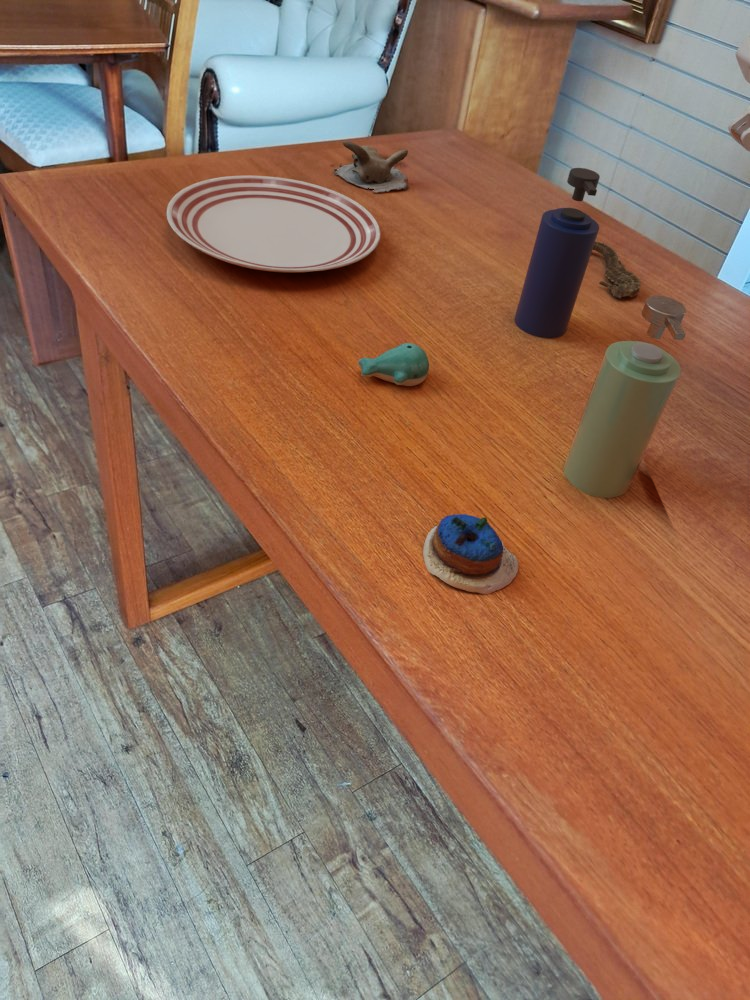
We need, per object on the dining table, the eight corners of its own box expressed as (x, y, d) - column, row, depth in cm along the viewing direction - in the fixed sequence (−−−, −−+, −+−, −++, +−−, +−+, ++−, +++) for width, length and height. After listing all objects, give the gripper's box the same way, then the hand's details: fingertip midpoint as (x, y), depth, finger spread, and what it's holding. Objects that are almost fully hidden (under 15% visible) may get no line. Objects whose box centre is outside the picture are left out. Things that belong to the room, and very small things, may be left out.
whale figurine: (430, 393, 82) (437, 363, 80) (361, 392, 81) (366, 361, 79) (420, 362, 87) (426, 332, 84) (354, 361, 85) (358, 330, 83)
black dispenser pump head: (588, 195, 87) (595, 169, 85) (600, 216, 83) (609, 189, 81) (560, 191, 87) (567, 166, 85) (571, 213, 83) (579, 186, 81)
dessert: (402, 558, 64) (438, 494, 62) (426, 552, 70) (460, 494, 69) (486, 613, 61) (526, 548, 60) (503, 602, 67) (539, 543, 66)
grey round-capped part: (666, 327, 67) (678, 297, 65) (688, 363, 63) (702, 332, 61) (630, 323, 66) (641, 293, 64) (649, 360, 62) (662, 329, 60)
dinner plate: (392, 219, 114) (396, 196, 111) (356, 309, 94) (359, 283, 91) (208, 183, 115) (208, 160, 113) (133, 265, 95) (131, 238, 93)
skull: (415, 195, 123) (424, 155, 120) (352, 191, 117) (360, 150, 114) (382, 173, 130) (390, 135, 126) (321, 169, 124) (327, 129, 120)
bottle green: (619, 456, 78) (671, 333, 69) (637, 500, 74) (696, 375, 64) (556, 452, 78) (601, 327, 68) (571, 496, 73) (621, 368, 64)
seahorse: (600, 248, 114) (604, 236, 113) (648, 301, 104) (652, 288, 103) (565, 251, 113) (568, 239, 112) (609, 304, 103) (613, 291, 102)
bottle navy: (560, 313, 99) (594, 203, 89) (571, 340, 94) (608, 227, 85) (510, 308, 98) (539, 197, 89) (519, 336, 94) (551, 221, 84)
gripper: (821, -42, 69) (676, 71, 74) (976, 23, 54) (783, 157, 60) (840, 21, 73) (700, 124, 78) (990, 96, 58) (806, 217, 63)
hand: (737, 139), depth 69 cm, fingers closed
